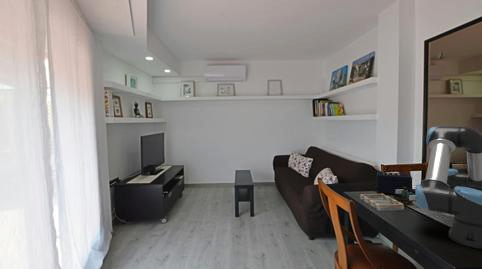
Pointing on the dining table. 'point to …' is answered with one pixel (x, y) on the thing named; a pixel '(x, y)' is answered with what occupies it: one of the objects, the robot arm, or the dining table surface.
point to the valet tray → (381, 202)
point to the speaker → (392, 182)
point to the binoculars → (405, 196)
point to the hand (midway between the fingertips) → (402, 194)
